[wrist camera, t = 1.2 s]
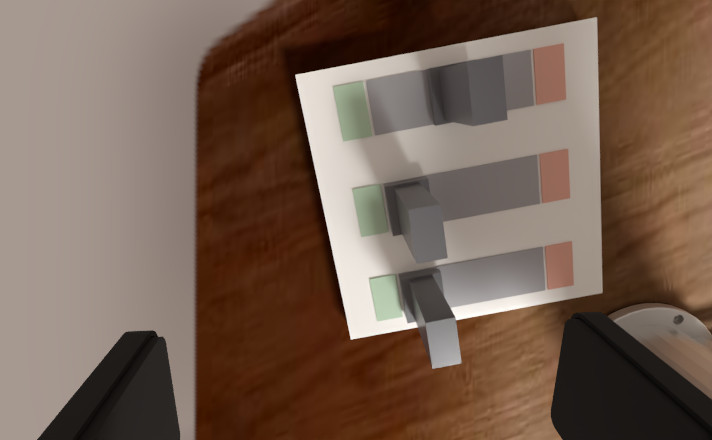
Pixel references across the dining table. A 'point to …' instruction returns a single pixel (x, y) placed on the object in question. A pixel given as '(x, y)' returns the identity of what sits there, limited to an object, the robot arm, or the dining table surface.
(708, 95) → the dining table surface
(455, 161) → the switch board
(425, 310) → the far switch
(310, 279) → the dining table surface
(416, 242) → the middle switch
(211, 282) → the dining table surface
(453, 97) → the switch
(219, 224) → the dining table surface
